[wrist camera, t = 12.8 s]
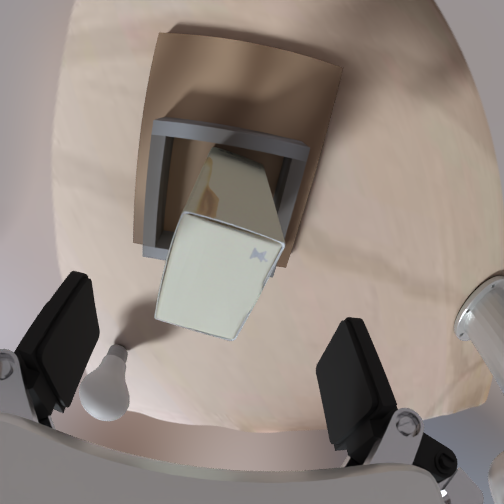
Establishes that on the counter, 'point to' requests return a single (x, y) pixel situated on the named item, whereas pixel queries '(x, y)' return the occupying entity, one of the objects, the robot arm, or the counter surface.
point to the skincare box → (221, 248)
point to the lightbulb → (107, 387)
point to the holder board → (228, 127)
